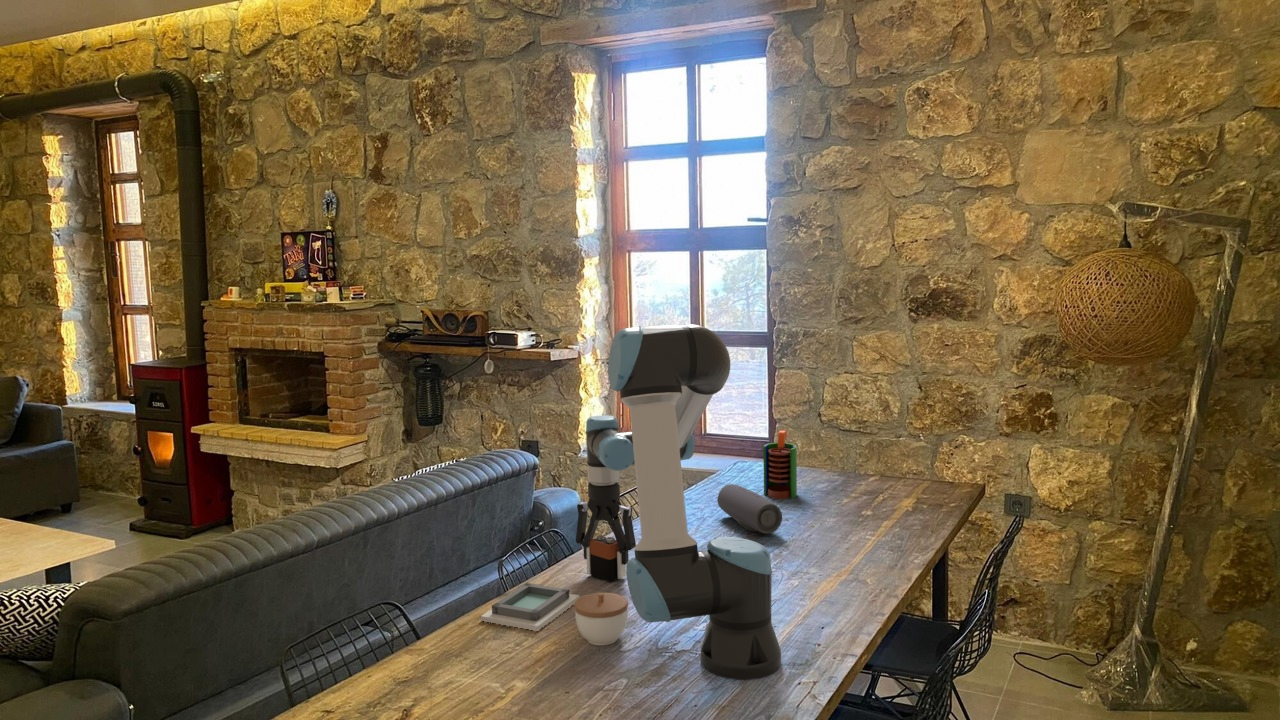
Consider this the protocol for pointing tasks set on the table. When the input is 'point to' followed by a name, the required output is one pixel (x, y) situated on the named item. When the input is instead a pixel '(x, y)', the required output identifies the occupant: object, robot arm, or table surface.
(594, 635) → the lidded jar
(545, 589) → the charging dock
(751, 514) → the bluetooth speaker
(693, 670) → the table surface
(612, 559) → the battery
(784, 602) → the table surface
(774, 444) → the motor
